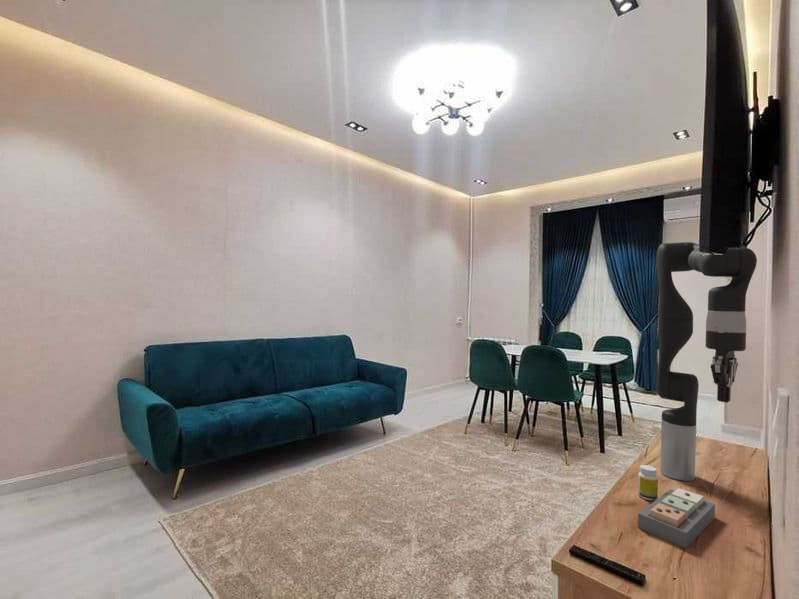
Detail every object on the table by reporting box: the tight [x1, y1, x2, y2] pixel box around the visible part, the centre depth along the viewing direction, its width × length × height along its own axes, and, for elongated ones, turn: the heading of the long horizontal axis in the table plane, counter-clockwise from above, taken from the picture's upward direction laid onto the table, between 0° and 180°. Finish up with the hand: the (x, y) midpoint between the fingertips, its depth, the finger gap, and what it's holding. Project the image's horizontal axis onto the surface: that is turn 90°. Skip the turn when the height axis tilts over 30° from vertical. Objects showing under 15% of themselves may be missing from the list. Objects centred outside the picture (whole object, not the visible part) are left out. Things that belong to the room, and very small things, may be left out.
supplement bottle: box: [637, 464, 659, 502], centre depth 113 cm, size 5×5×8 cm
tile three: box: [650, 503, 685, 528], centre depth 96 cm, size 6×6×3 cm
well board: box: [637, 488, 716, 549], centre depth 100 cm, size 22×10×4 cm, turn 128°
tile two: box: [661, 495, 695, 518], centre depth 100 cm, size 6×6×3 cm
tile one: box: [671, 487, 704, 509], centre depth 104 cm, size 6×6×3 cm
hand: (723, 401), depth 95 cm, fingers closed
